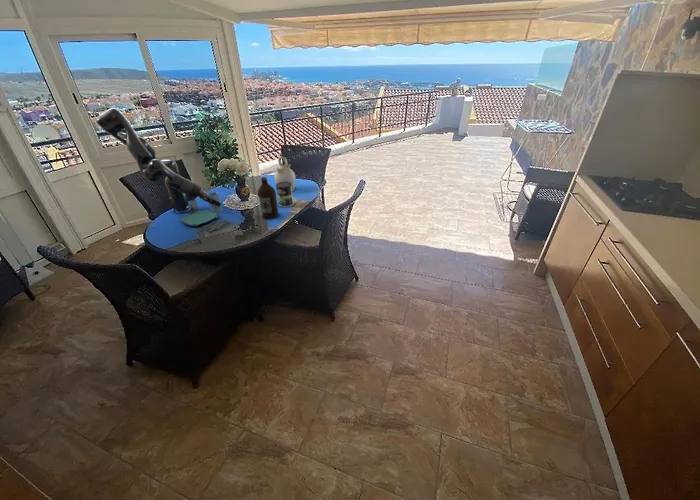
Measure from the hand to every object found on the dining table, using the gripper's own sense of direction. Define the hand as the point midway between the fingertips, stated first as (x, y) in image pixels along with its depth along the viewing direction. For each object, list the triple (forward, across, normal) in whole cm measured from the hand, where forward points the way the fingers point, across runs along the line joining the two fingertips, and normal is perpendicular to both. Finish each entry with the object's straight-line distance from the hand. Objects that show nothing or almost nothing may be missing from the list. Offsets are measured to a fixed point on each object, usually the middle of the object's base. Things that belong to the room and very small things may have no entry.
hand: (218, 203), depth 162 cm
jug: (+53, -33, +28) cm, 69 cm away
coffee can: (+44, -10, +19) cm, 49 cm away
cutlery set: (+7, -18, -17) cm, 26 cm away
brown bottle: (+32, 0, +8) cm, 33 cm away
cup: (+2, 0, -4) cm, 5 cm away
